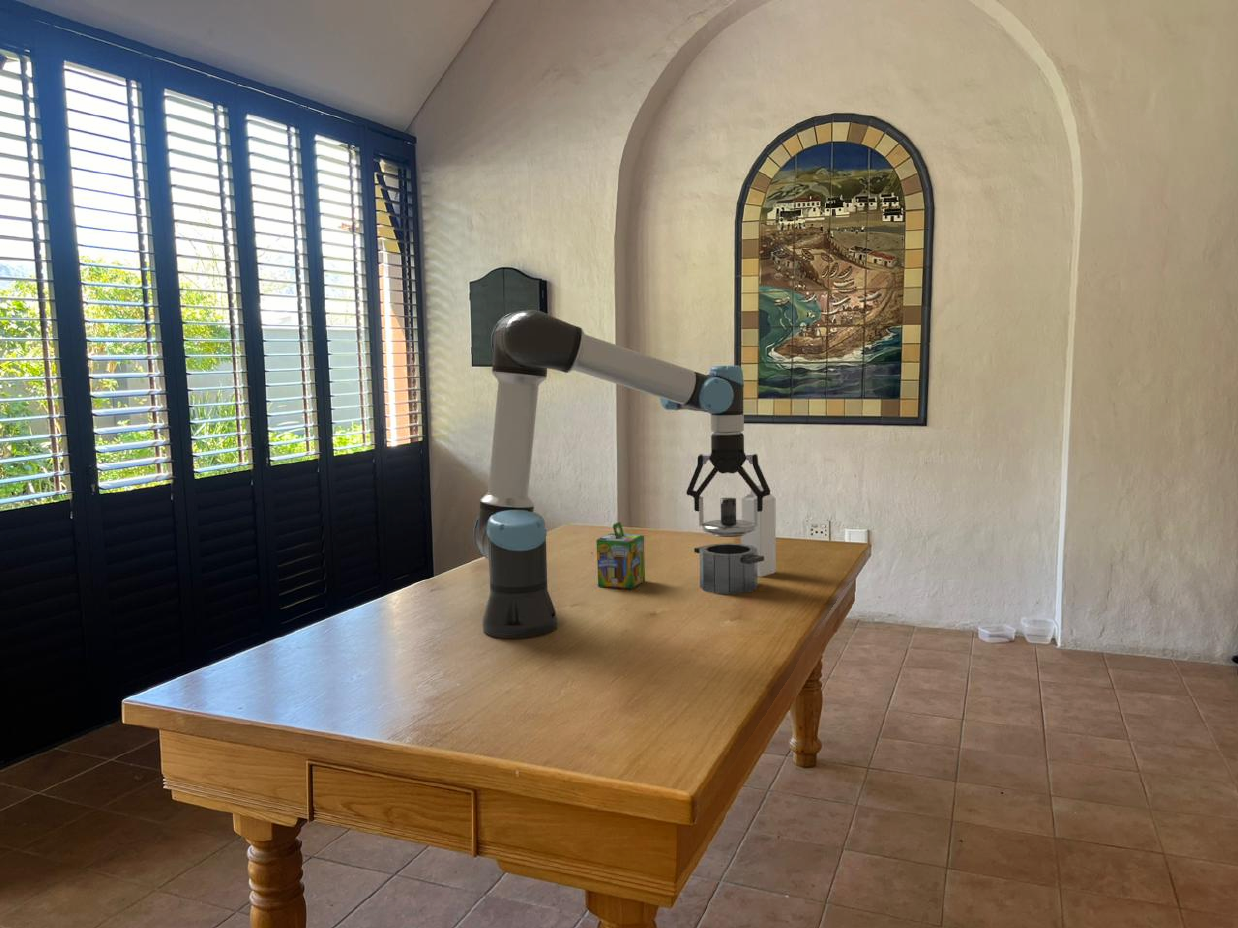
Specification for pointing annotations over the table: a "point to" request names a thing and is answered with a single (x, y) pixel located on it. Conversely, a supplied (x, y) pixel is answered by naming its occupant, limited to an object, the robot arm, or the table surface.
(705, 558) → the pot
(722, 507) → the lid
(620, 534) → the chalk box
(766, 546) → the milk
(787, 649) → the table surface
